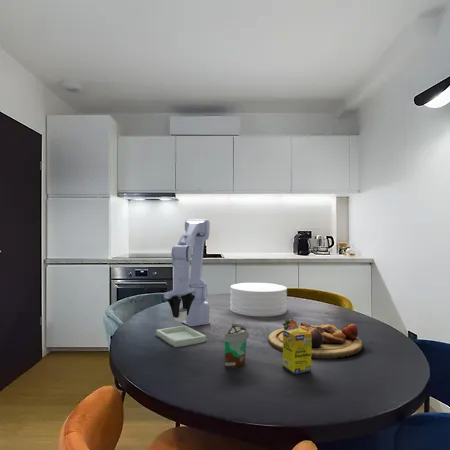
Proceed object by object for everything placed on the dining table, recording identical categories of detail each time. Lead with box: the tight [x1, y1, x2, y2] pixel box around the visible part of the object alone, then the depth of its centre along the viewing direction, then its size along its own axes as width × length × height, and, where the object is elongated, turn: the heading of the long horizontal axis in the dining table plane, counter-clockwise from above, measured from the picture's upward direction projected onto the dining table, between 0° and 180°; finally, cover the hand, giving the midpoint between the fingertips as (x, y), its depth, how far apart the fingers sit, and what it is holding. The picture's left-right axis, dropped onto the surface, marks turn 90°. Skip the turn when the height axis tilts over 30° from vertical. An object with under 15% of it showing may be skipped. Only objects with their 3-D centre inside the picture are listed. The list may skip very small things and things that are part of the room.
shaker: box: [173, 307, 187, 322], centre depth 126 cm, size 4×4×4 cm
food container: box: [223, 323, 250, 369], centre depth 104 cm, size 12×6×10 cm, turn 168°
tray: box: [155, 324, 207, 348], centre depth 126 cm, size 12×16×2 cm
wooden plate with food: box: [267, 318, 364, 359], centre depth 123 cm, size 32×32×8 cm
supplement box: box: [282, 328, 312, 376], centre depth 99 cm, size 6×6×11 cm
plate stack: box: [229, 282, 288, 317], centre depth 175 cm, size 28×28×12 cm
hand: (180, 315), depth 126 cm, fingers closed on shaker, 4 cm apart
